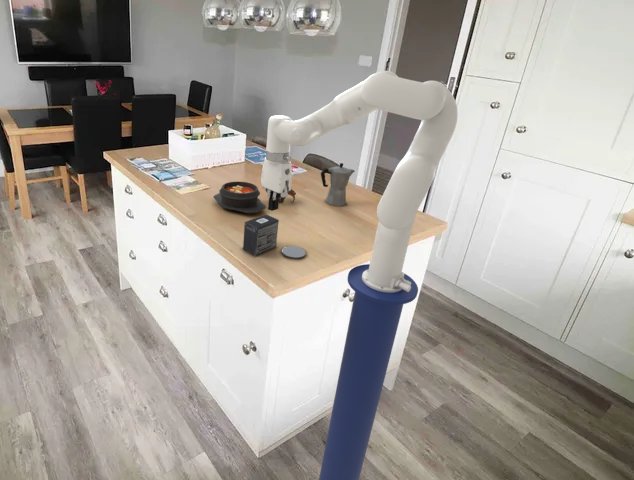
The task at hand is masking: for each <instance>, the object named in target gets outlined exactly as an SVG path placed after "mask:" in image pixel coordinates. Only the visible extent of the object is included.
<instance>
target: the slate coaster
mask: <svg viewBox="0 0 634 480" xmlns="http://www.w3.org/2000/svg"><path fill="white" fill-rule="evenodd" d="M281 254H282V255H283V256H284V257H285V258H288V259H292V260H300V259H303V258H305V256H306V251H305V249H304V248H302V247H299V246H296V245H287V246H284V247H283V248H282V249H281Z"/></svg>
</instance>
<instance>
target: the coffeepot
mask: <svg viewBox="0 0 634 480" xmlns="http://www.w3.org/2000/svg"><path fill="white" fill-rule="evenodd" d="M354 173H355V170H354V169H352V168H347V167H344V163H342V162H340V163H339V166H332V167H330V168H324V169H323V170H322V171H321V172H320V177H321V182H322V186H323V187H324V188H328V187H329V189H328V192H327V195H326V198H325V202H326V203H327V204H328V205H330V206H335V207H342V206H345V205H347V186H348V183H349V180H350V179H351V178H350V177H351V176H352V175H353V174H354ZM326 174H330V175H329V176H330V177H329V181H330V184H326V183H327V180H326ZM329 185H330V186H329Z"/></svg>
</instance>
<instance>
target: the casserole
mask: <svg viewBox="0 0 634 480" xmlns="http://www.w3.org/2000/svg"><path fill="white" fill-rule="evenodd" d="M260 195H261V192H260V190H259V187H258V185H256V184H254V183H251V182H247V181H229V182H226V183H223V184H222V186H221V188H220V189H219V192H218V193H216V194H215V195H213V197H212V198H213V199H214V200H215V201H216V203H217V204H218V205H219V206H220V207H222V208H223V209H227V210H229V211H230V210H231V211H235V212H241V213H245V214H254V213H255V214H256V213H259V212H262V211H264V210H266V208H267V205H266V204H264V203H263V202H262V200H261V199H260V198H259V196H260Z"/></svg>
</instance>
